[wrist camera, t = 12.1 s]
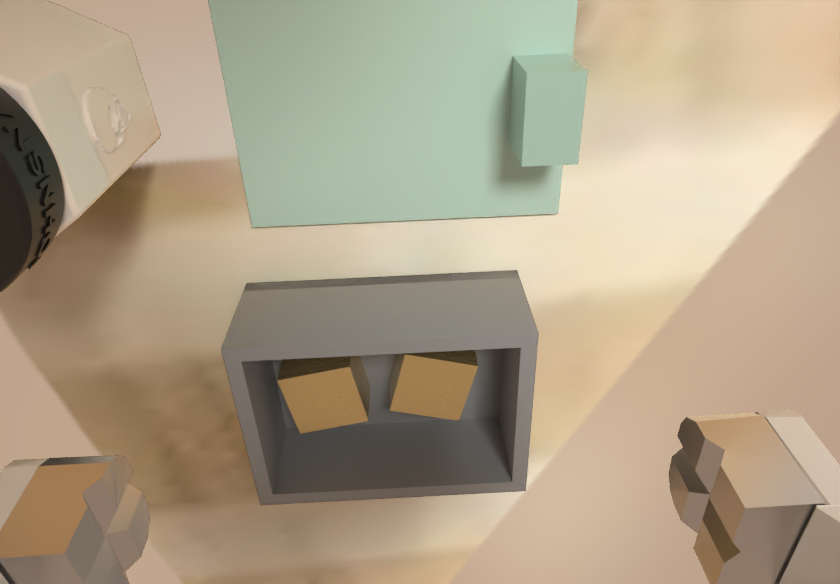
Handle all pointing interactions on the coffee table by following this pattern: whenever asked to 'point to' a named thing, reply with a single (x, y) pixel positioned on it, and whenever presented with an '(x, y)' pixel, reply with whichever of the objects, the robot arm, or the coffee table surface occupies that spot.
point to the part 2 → (432, 382)
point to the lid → (400, 107)
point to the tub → (386, 385)
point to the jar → (62, 123)
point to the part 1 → (325, 391)
